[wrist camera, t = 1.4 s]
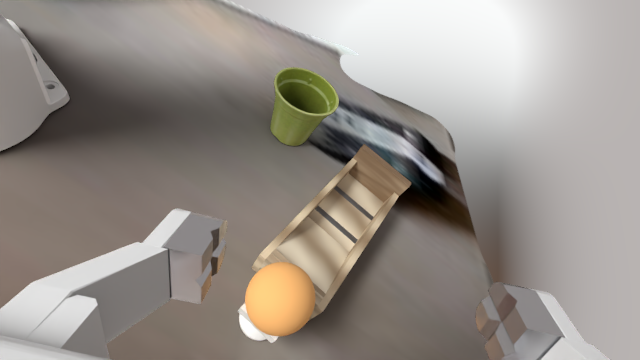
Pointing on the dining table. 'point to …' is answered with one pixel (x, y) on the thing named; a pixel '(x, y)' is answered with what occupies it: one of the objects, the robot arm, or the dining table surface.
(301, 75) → the plant pot
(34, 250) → the dining table surface
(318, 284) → the lane
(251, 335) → the tee
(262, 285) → the ball
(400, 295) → the dining table surface
